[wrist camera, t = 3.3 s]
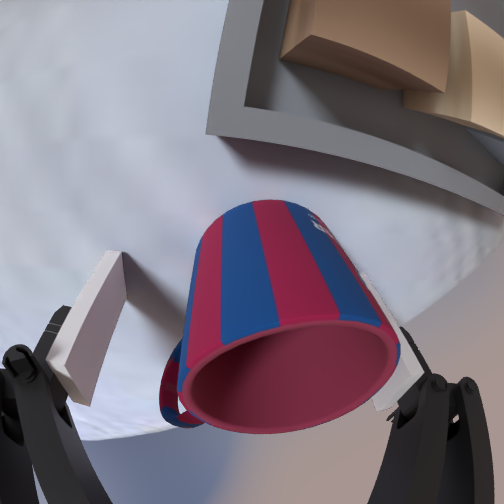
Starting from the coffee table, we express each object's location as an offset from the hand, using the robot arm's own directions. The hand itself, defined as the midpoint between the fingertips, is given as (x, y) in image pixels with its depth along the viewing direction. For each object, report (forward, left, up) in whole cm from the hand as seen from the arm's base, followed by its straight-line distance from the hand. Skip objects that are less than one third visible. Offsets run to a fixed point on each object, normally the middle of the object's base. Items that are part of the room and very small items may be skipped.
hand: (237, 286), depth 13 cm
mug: (0, 0, 0) cm, 0 cm away
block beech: (-12, +7, 0) cm, 14 cm away
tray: (-18, +7, 0) cm, 19 cm away
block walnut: (-12, +2, 0) cm, 12 cm away
